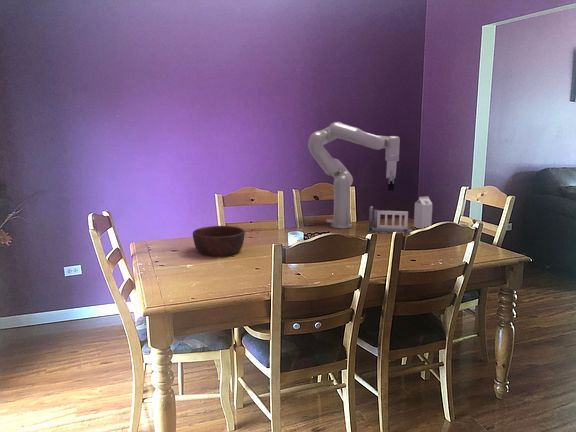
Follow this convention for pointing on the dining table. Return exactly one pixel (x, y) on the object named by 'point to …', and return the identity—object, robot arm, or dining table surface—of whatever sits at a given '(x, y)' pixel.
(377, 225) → the gate
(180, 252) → the dining table surface
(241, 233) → the wooden bowl
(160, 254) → the dining table surface
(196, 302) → the dining table surface
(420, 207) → the milk carton
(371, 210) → the gate base
